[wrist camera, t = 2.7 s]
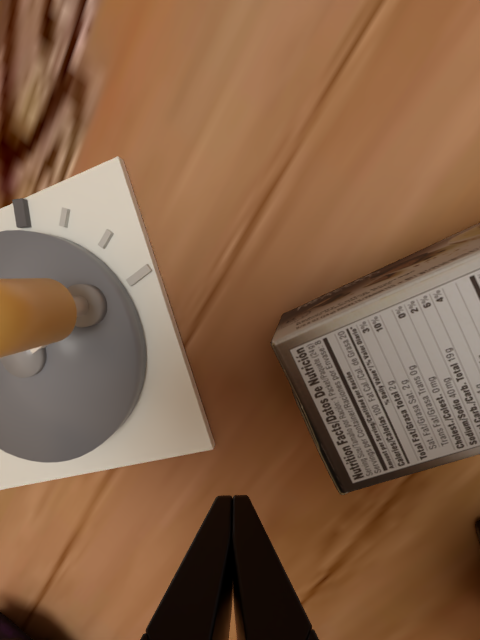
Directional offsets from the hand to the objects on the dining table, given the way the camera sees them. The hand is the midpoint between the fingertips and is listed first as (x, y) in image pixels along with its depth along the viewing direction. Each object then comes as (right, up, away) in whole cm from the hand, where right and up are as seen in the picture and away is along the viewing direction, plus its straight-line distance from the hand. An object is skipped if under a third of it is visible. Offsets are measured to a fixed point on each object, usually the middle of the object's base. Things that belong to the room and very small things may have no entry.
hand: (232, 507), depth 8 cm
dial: (-14, +3, +14) cm, 20 cm away
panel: (-14, +3, +14) cm, 20 cm away
